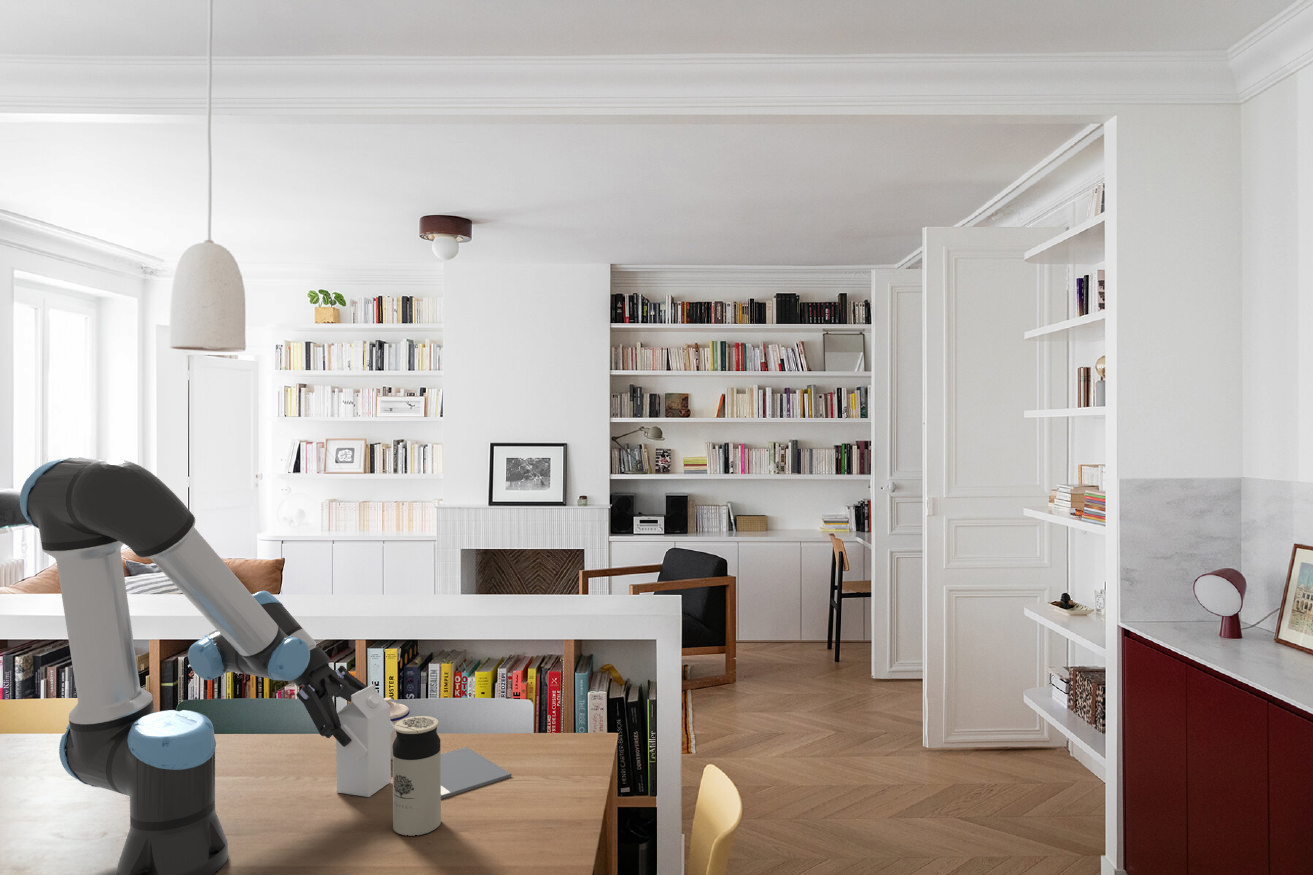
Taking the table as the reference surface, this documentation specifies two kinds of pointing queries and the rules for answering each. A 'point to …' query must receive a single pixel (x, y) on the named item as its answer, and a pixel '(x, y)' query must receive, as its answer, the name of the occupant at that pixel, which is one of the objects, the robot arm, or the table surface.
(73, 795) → the table surface
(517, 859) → the table surface
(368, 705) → the milk carton
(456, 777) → the mat
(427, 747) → the travel mug
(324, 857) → the table surface
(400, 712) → the teacup with lid
